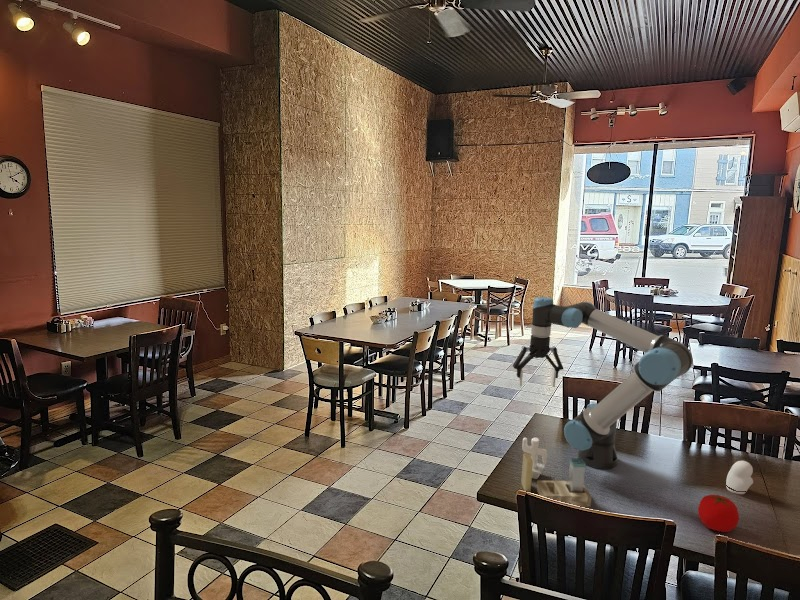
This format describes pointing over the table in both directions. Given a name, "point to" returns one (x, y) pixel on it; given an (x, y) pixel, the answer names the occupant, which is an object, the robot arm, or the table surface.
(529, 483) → the pale yellow rectangular block
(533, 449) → the figurine
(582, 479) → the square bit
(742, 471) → the figurine
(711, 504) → the tomato
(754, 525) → the table surface
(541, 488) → the socket block
